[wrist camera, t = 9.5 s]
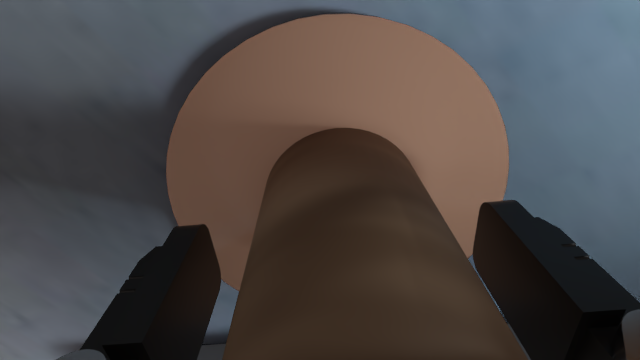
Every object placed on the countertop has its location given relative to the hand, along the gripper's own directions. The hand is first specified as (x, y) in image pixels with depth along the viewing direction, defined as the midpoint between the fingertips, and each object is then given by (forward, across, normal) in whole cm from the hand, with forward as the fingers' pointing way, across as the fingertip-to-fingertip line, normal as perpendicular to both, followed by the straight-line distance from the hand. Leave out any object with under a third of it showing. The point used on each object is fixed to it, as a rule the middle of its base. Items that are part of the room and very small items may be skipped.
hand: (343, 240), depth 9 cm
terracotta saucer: (+3, 0, 0) cm, 3 cm away
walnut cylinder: (+2, 0, 0) cm, 2 cm away
